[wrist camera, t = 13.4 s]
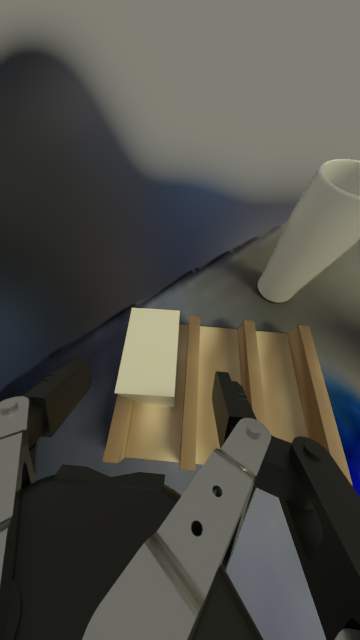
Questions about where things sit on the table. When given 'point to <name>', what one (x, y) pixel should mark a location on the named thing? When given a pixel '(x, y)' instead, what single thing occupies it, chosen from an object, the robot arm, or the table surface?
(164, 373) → the cream rectangular block
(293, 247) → the drinking glass
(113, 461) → the ridged wooden tray
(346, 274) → the table surface
